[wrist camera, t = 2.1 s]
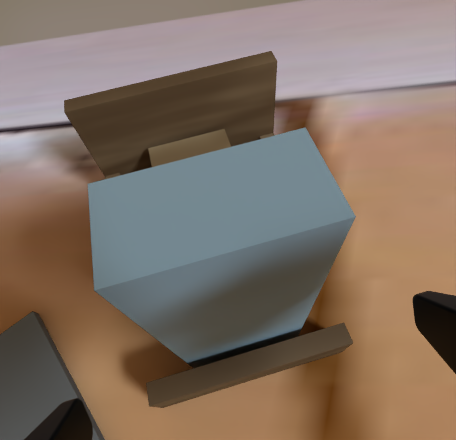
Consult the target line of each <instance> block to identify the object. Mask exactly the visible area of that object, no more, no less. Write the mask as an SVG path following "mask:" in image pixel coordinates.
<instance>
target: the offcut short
mask: <svg viewBox="0 0 456 440" xmlns="http://www.w3.org/2000/svg"><path fill="white" fill-rule="evenodd" d="M229 147H231V145H230V142H229V140H228V137H227V134H226V132H225V129H222V130H218V131H214V132H210V133H206V134H202V135H198V136H194V137H190V138H186V139H183V140H179V141H175V142H171V143H167V144H163V145H159V146H155V147H151V148H148V150H149V155H150V160H151V165H152V167H155V166H159V165H163V164H167V163H171V162H174V161H178V160H182V159H186V158H190V157H194V156H198V155H202V154H205V153H209V152H213V151H217V150H221V149H225V148H229Z"/></svg>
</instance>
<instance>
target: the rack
mask: <svg viewBox="0 0 456 440" xmlns="http://www.w3.org/2000/svg"><path fill="white" fill-rule="evenodd" d="M276 73H277V60H276V58H275V56H274V55H273V53H272V51H269V52H265V53H261V54H257V55H252V56H248V57H244V58H240V59H236V60H232V61H227V62H223V63H219V64H215V65H211V66H207V67H202V68H198V69H194V70H190V71H186V72H181V73H177V74H173V75H169V76H165V77H161V78H156V79H152V80H148V81H144V82H140V83H136V84H131V85H127V86H123V87H119V88H115V89H110V90H106V91H102V92H98V93H94V94H90V95H85V96H81V97H77V98H73V99H69V100H65V101H64V112H65V114H66V115H67V117H68V119H69V120H70V122H71V123H72V125H73V127H74V128H75V130H76V131H77V133H78V134H79V136H80V138H81V139H82V141H83V142H84V144H85V146H86V147H87V149H88V150H89V152H90V153H91V155H92V157H93V158H94V160H95V161H96V163H97V165H98V166H99V168H100V169H101V171H102V172H103V174H104V176H105V179H109V178H113V177H116V176H120V175H124V174H128V173H132V172H136V171H140V170H144V169H147V168H151V167H152V165H151V160H150V155H149V150H148V148H151V147H155V146H159V145H163V144H167V143H171V142H175V141H179V140H183V139H186V138H190V137H194V136H198V135H202V134H206V133H210V132H214V131H218V130H222V129H225V132H226V134H227V137H228V140H229V142H230V145H231V147H232V146H236V145H240V144H244V143H248V142H252V141H256V140H260V139H263V138H267V137H271V136H275V135H274V133H273V129H274V110H275V91H276ZM351 344H353V341H352V339H351V337H350V335H349V333H348V330H347V328H346V326H345V324H344V323H341V324H338V325H335V326H331V327H328V328H325V329H321V330H318V331H315V332H312V333H308V334H305V335H302V336H299V337H295V338H292V339H289V340H285V341H282V342H279V343H276V344H272V345H269V346H266V347H262V348H259V349H256V350H253V351H249V352H246V353H243V354H240V355H236V356H233V357H230V358H226V359H223V360H220V361H217V362H213V363H210V364H207V365H204V366H200V367H197V368H194V369H190V370H187V371H184V372H181V373H177V374H174V375H171V376H168V377H164V378H161V379H158V380H154V381H151V382H148V383H146V385H147V393H148V401H149V406H151V407H160V408H164V407H167V406H170V405H173V404H177V403H180V402H183V401H186V400H189V399H193V398H196V397H199V396H202V395H205V394H209V393H212V392H215V391H218V390H221V389H225V388H228V387H231V386H234V385H237V384H241V383H244V382H247V381H250V380H253V379H257V378H260V377H263V376H266V375H270V374H273V373H276V372H279V371H282V370H286V369H289V368H292V367H295V366H298V365H302V364H305V363H308V362H311V361H314V360H318V359H321V358H324V357H327V356H330V355H334V354H337V353H340V352H342V351H344V350H345V349H346V348H347V347H349V346H350V345H351Z"/></svg>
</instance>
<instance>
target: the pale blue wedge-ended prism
mask: <svg viewBox="0 0 456 440" xmlns="http://www.w3.org/2000/svg"><path fill="white" fill-rule="evenodd" d="M88 196H89V212H90V229H91V246H92V262H93V279H94V291H95V292H97V293H98V294H99V295H101V296H102V297H103V298H104V299H106V300H107V301H108V302H110V303H111V304H112V305H113V306H115V307H116V308H117V309H119V310H120V311H121V312H122V313H124V314H125V315H126V316H127V317H129V318H130V319H131V320H133V321H134V322H135V323H136V324H138V325H139V326H140V327H142V328H143V329H144V330H145V331H147V332H148V333H149V334H151V335H152V336H153V337H154V338H156V339H157V340H158V341H159V342H161V343H162V344H163V345H165V346H166V347H167V348H168V349H170V350H171V351H172V352H174V353H175V354H176V355H177V356H179V357H180V358H181V359H183V360H184V361H185V362H186V363H188V364H189V365H190V366H192V367H193V368H197V367H200V366H204V365H207V364H210V363H213V362H217V361H220V360H223V359H226V358H230V357H233V356H236V355H240V354H243V353H246V352H249V351H253V350H256V349H259V348H262V347H266V346H269V345H272V344H276V343H279V342H282V341H285V340H289V339H292V338H295V337H298V335H299V333H300V331H301V329H302V327H303V325H304V323H305V321H306V318H307V316H308V314H309V312H310V310H311V308H312V306H313V304H314V302H315V300H316V298H317V296H318V294H319V292H320V290H321V287H322V285H323V283H324V281H325V279H326V277H327V275H328V273H329V271H330V269H331V267H332V265H333V263H334V261H335V259H336V256H337V254H338V252H339V250H340V248H341V246H342V244H343V242H344V240H345V238H346V236H347V234H348V232H349V230H350V228H351V225H352V223H353V221H354V219H355V217H356V216H355V215H354V213H353V211H352V209H351V208H350V206H349V204H348V202H347V200H346V199H345V197H344V195H343V193H342V192H341V190H340V188H339V186H338V185H337V183H336V181H335V179H334V177H333V176H332V174H331V172H330V170H329V169H328V167H327V165H326V163H325V162H324V160H323V158H322V156H321V154H320V153H319V151H318V149H317V147H316V146H315V144H314V142H313V140H312V139H311V137H310V135H309V133H308V131H307V130H306V128H302V129H298V130H294V131H290V132H287V133H283V134H279V135H275V136H271V137H267V138H263V139H260V140H256V141H252V142H248V143H244V144H240V145H236V146H232V147H229V148H225V149H221V150H217V151H213V152H209V153H205V154H202V155H198V156H194V157H190V158H186V159H182V160H178V161H174V162H171V163H167V164H163V165H159V166H155V167H151V168H147V169H144V170H140V171H136V172H132V173H128V174H124V175H120V176H116V177H113V178H109V179H105V180H101V181H97V182H93V183H89V184H88Z"/></svg>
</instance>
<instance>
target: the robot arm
mask: <svg viewBox="0 0 456 440" xmlns="http://www.w3.org/2000/svg"><path fill="white" fill-rule="evenodd" d="M413 308H414V317H415V323H416V326H417V328H418V330H419V331H420V332H421V334H422V335H423V336H424V337H425V338H426V340H427V341H428V342H429V343H430V344H431V345H432V347H433V348H434V349H435V350H436V351H437V353H438V354H439V355H440V356H441V357H442V358H443V360H444V361H445V362H446V363H447V364H448V366H449V367H450V368H451V369H452V370H453V371H454V373H455V374H456V296H454V295H448V294H443V293H438V292H432V291H426V292H422V293H419V294H416V295H414V297H413ZM92 437H93V426H92V422H91V420H90V418H89V415H88V413H87V411H86V408H85V406H84V404H83V402H82V400H81V399H79V398H75V399H72V400H68V401H65V402H63V403H61V404H60V405H59V406H58V407H57V408H56V409H55V410H54V411H53V412H52V413H51V414H50V415H49V416H48V417H47V418H46V419H45V420H44V421H42V422H41V423H40V424H39V425H38V426H37V427H36V428H35V429H34V430H33V431H32V432H31V433H30V434H29V435H28V436H27V437H26V438H25V439H24V440H92Z"/></svg>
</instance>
